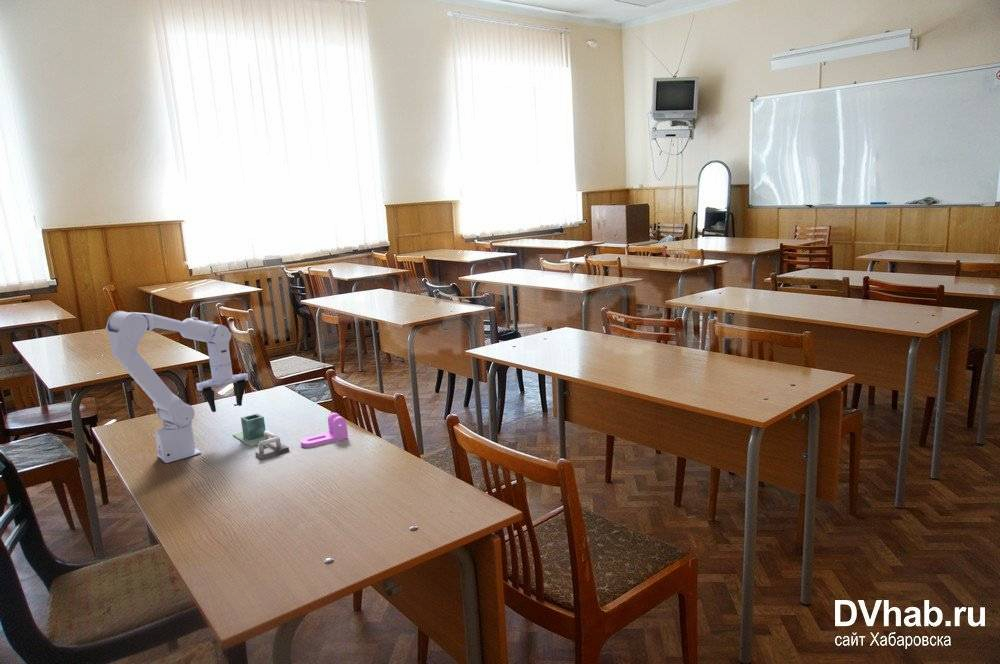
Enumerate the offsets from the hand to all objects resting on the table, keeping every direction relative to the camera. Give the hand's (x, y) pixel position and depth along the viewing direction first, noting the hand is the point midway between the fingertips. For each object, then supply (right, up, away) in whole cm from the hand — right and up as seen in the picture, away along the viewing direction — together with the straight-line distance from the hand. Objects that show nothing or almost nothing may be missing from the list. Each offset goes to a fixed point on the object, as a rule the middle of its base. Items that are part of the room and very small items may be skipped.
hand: (226, 408), depth 200 cm
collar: (+8, -9, +1) cm, 12 cm away
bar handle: (+16, -11, -10) cm, 21 cm away
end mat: (+8, -9, +1) cm, 12 cm away
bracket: (+30, -9, -5) cm, 32 cm away
